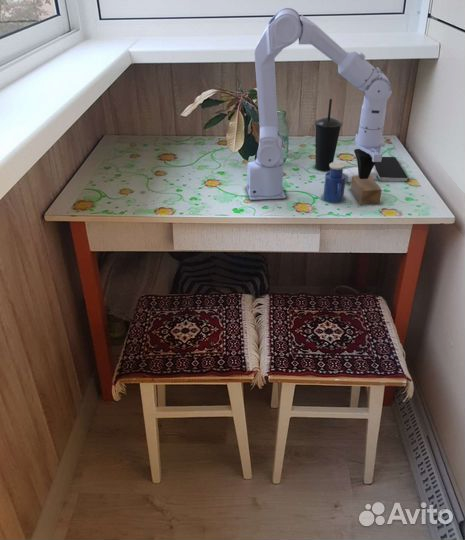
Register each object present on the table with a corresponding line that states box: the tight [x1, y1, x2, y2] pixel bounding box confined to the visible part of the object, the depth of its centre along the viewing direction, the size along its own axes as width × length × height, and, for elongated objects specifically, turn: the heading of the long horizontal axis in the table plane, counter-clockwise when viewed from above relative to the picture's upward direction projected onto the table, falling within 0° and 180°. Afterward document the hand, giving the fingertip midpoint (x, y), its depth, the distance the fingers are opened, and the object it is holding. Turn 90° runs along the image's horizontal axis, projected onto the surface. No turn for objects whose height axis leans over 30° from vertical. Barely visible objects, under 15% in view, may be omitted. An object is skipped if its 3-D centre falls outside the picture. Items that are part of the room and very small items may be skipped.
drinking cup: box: [314, 98, 343, 172], centre depth 144 cm, size 8×8×20 cm
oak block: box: [349, 176, 382, 206], centre depth 132 cm, size 5×9×4 cm, turn 6°
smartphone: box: [373, 156, 409, 182], centre depth 147 cm, size 8×1×15 cm
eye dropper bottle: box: [343, 166, 377, 184], centre depth 141 cm, size 4×6×12 cm
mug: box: [322, 161, 346, 204], centre depth 129 cm, size 9×7×10 cm
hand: (363, 177), depth 130 cm, fingers closed
